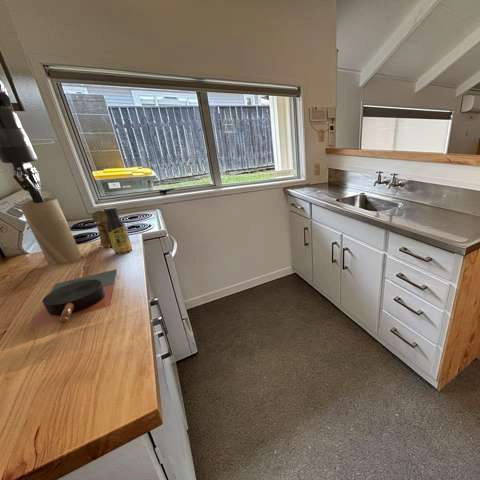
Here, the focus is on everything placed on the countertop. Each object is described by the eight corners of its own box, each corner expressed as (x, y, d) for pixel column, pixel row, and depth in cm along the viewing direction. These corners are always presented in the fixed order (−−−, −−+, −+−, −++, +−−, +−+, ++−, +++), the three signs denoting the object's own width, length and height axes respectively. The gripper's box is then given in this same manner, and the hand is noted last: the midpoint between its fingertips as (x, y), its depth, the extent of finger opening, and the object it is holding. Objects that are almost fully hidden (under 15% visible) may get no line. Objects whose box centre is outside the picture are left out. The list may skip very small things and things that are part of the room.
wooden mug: (99, 253, 111) (83, 213, 104) (102, 243, 121) (87, 206, 114) (124, 247, 115) (111, 209, 108) (124, 239, 126) (112, 203, 119)
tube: (58, 268, 98) (27, 205, 89) (43, 265, 102) (12, 203, 92) (87, 257, 107) (62, 198, 97) (73, 254, 110) (47, 197, 101)
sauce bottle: (122, 257, 106) (105, 210, 98) (112, 255, 108) (94, 209, 100) (137, 250, 112) (122, 206, 104) (127, 249, 113) (111, 205, 106)
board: (29, 332, 65) (28, 329, 65) (56, 285, 86) (55, 283, 86) (111, 307, 74) (110, 305, 74) (118, 270, 95) (117, 268, 95)
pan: (31, 341, 61) (23, 329, 60) (54, 298, 78) (49, 288, 76) (99, 320, 67) (94, 309, 66) (108, 284, 84) (104, 275, 83)
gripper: (4, 145, 79) (30, 200, 86) (-17, 146, 69) (15, 208, 76) (37, 144, 83) (60, 197, 90) (23, 145, 73) (49, 204, 79)
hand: (39, 202), depth 83 cm, fingers closed
